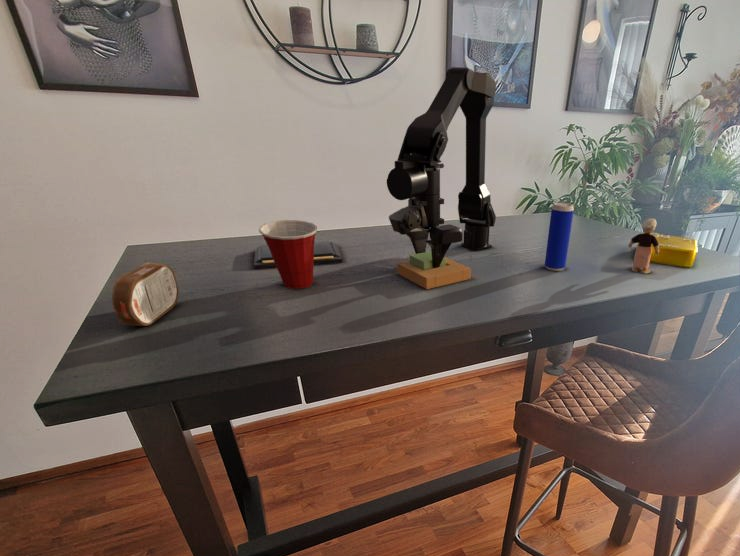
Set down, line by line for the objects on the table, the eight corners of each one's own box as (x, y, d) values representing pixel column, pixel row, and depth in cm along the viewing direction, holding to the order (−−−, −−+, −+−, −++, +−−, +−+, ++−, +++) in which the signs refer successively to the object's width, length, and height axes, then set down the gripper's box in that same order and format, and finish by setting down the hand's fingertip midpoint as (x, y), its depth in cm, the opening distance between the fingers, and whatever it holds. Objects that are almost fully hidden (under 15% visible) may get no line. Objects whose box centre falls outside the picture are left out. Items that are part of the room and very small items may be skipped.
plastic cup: (274, 297, 87) (260, 235, 81) (268, 279, 95) (255, 221, 88) (330, 289, 91) (321, 230, 85) (320, 273, 99) (311, 218, 93)
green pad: (431, 264, 106) (431, 251, 104) (445, 271, 102) (446, 257, 100) (409, 268, 102) (409, 255, 101) (424, 276, 99) (423, 261, 97)
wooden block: (440, 265, 108) (440, 254, 107) (470, 279, 101) (470, 268, 99) (397, 273, 102) (397, 263, 100) (426, 289, 94) (426, 278, 93)
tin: (169, 299, 84) (153, 255, 79) (187, 299, 84) (172, 255, 79) (122, 335, 71) (100, 285, 67) (143, 335, 71) (123, 285, 67)
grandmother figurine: (654, 271, 112) (668, 219, 105) (653, 275, 109) (666, 222, 102) (624, 266, 114) (635, 214, 107) (621, 270, 111) (633, 217, 104)
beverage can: (564, 265, 112) (573, 203, 104) (565, 272, 108) (575, 207, 100) (544, 264, 113) (551, 201, 104) (544, 270, 108) (552, 206, 100)
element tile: (633, 260, 119) (637, 242, 116) (638, 246, 131) (642, 230, 128) (692, 268, 115) (698, 250, 112) (692, 254, 126) (697, 237, 124)
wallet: (336, 238, 117) (342, 255, 105) (337, 245, 118) (343, 263, 106) (254, 242, 111) (250, 260, 99) (256, 250, 112) (252, 268, 100)
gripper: (371, 188, 95) (377, 260, 103) (418, 204, 83) (420, 284, 91) (415, 185, 101) (417, 253, 109) (465, 199, 89) (463, 274, 97)
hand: (428, 265), depth 102 cm, fingers closed on green pad, 6 cm apart
